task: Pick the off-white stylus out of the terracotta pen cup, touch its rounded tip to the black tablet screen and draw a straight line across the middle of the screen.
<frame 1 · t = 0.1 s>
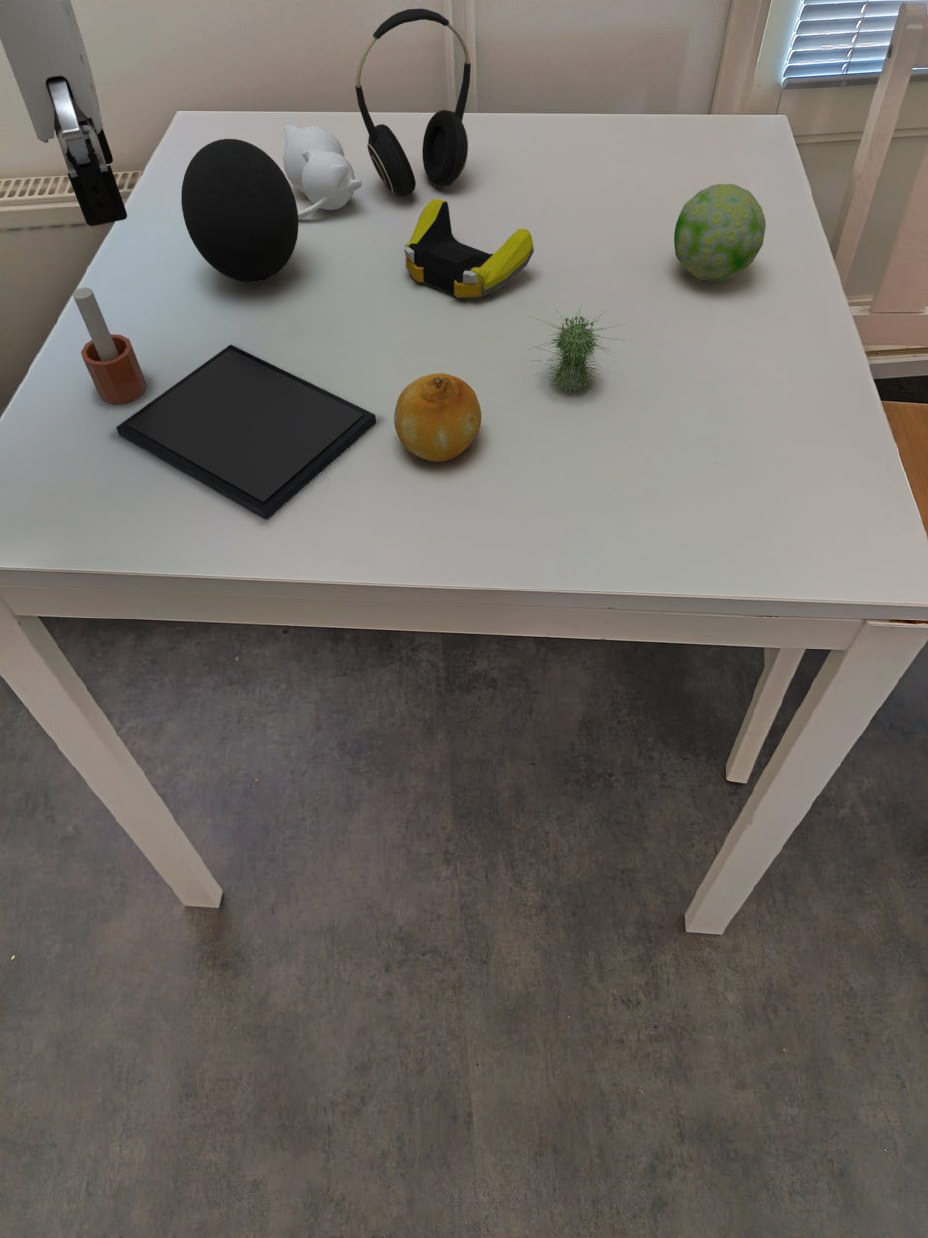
hand: (101, 191, 70), 21 cm above the table, tool pointing down, fingers open, 9 cm apart
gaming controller: (462, 274, 100), on the table
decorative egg: (256, 276, 100), on the table
decorative ball: (708, 275, 99), on the table
pen cup: (123, 389, 88), on the table
small spiny cactus: (571, 385, 88), on the table
cat figurine: (318, 202, 110), on the table
fruit: (438, 445, 83), on the table
tablet: (248, 428, 84), on the table
headphones: (420, 189, 111), on the table
stylus: (121, 385, 88), resting on pen cup
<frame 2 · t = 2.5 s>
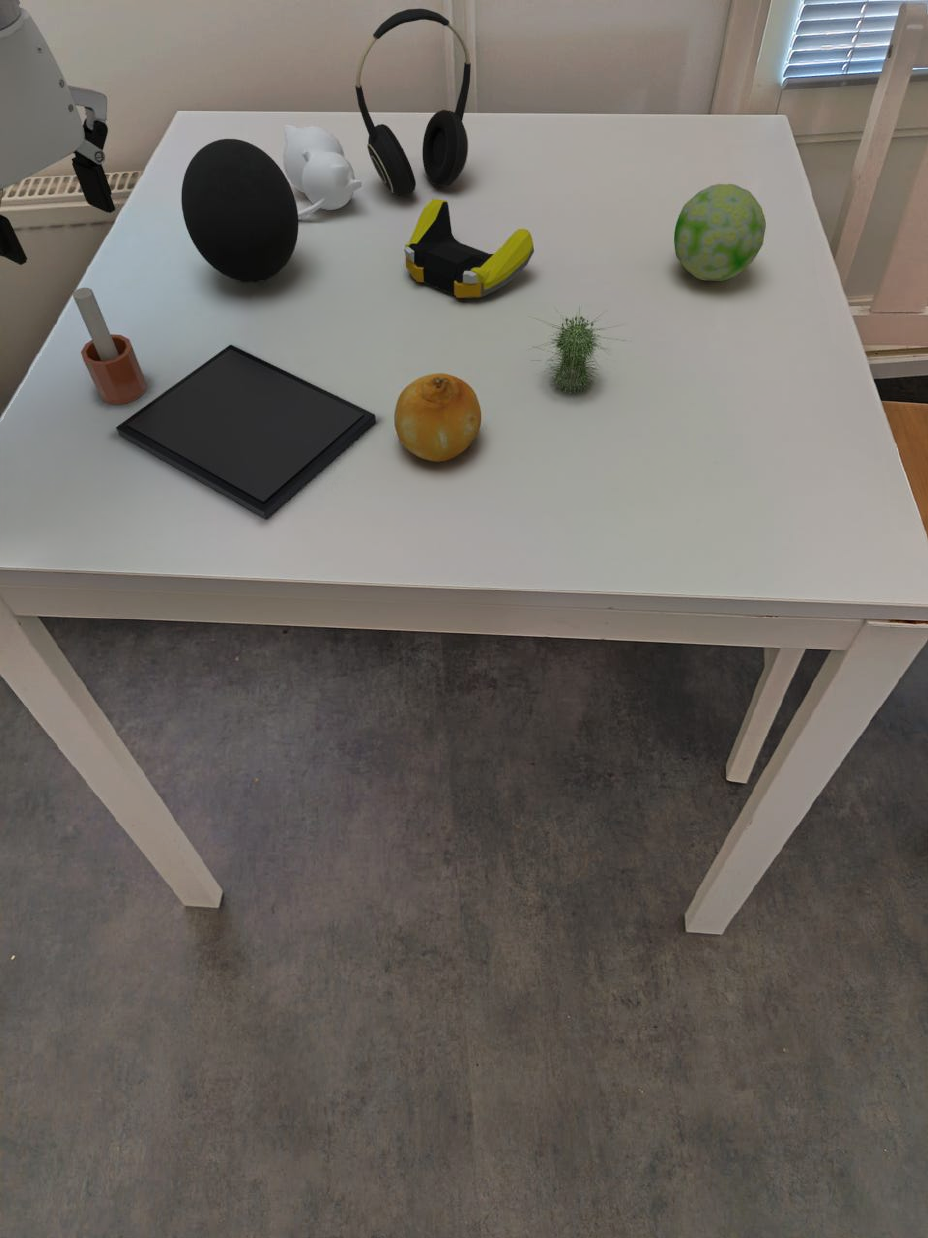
hand: (59, 232, 74), 17 cm above the table, tool pointing down, fingers open, 9 cm apart
nothing on the table moved.
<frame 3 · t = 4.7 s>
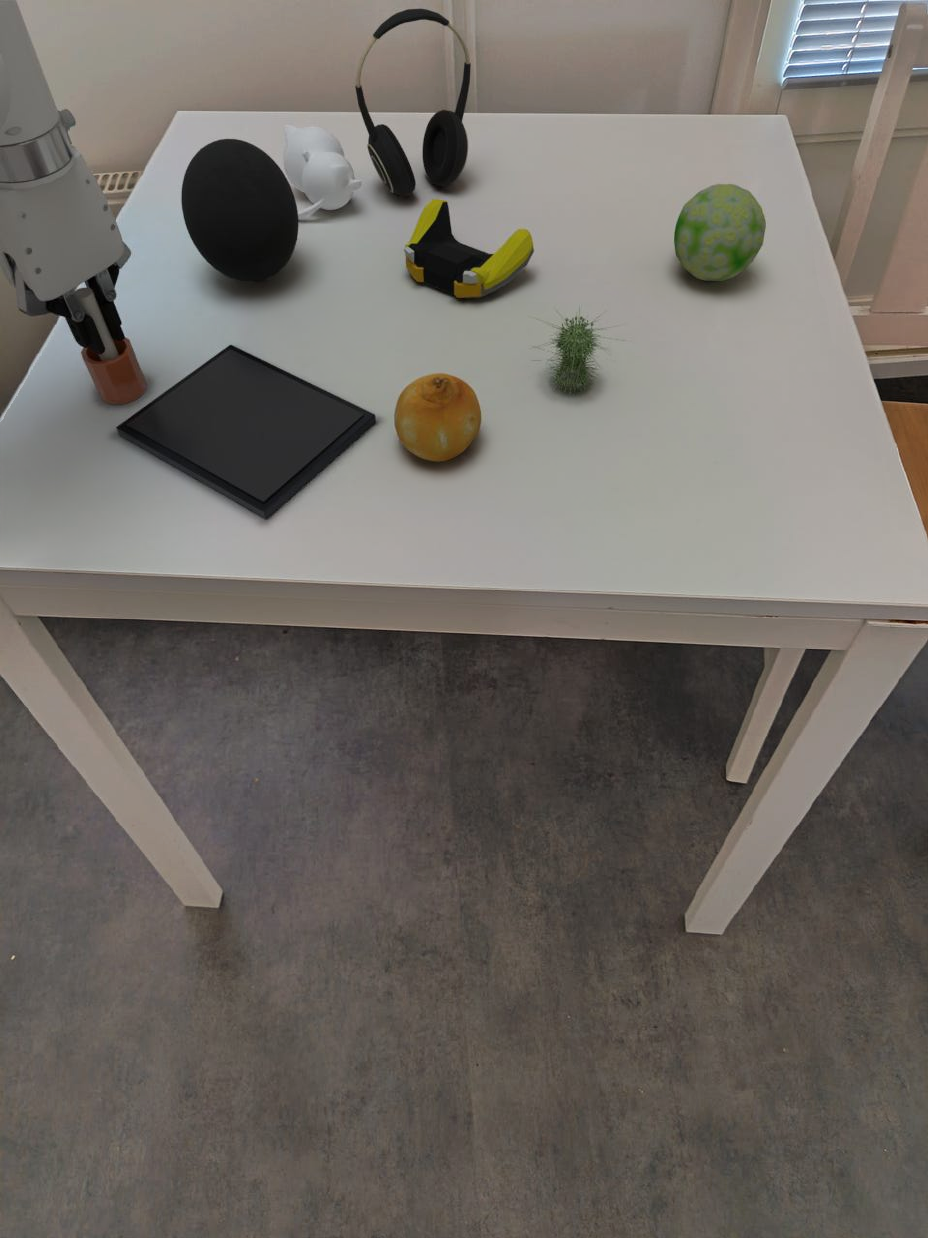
hand: (102, 340, 83), 6 cm above the table, tool pointing down, fingers closed on stylus, 1 cm apart
stylus: (121, 385, 88), resting on pen cup, touching gripper
everything else where it was.
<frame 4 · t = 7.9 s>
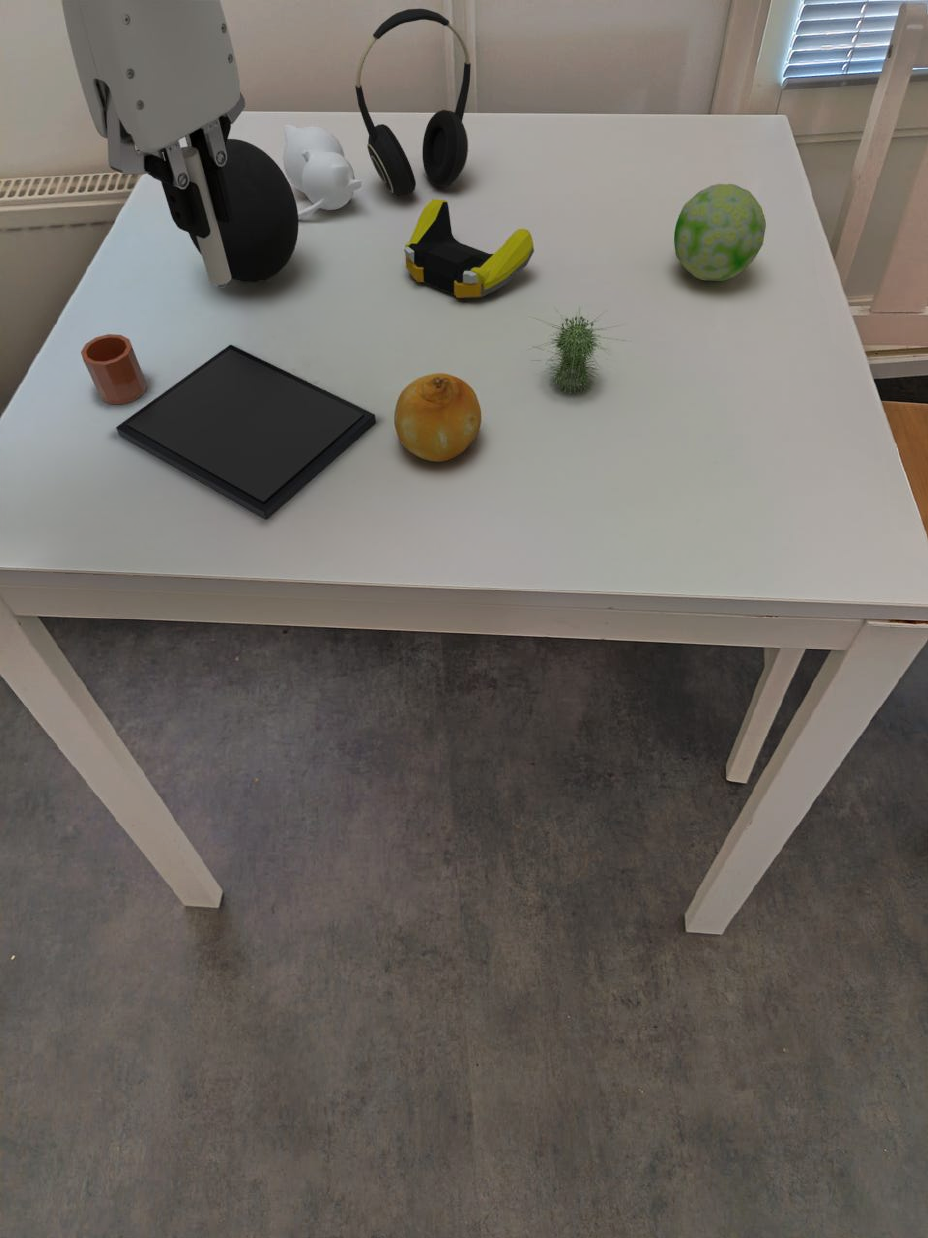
hand: (205, 222, 65), 22 cm above the table, tool pointing down, fingers closed on stylus
stylus: (222, 286, 69), point 17 cm above the table, touching gripper
everything else where it was.
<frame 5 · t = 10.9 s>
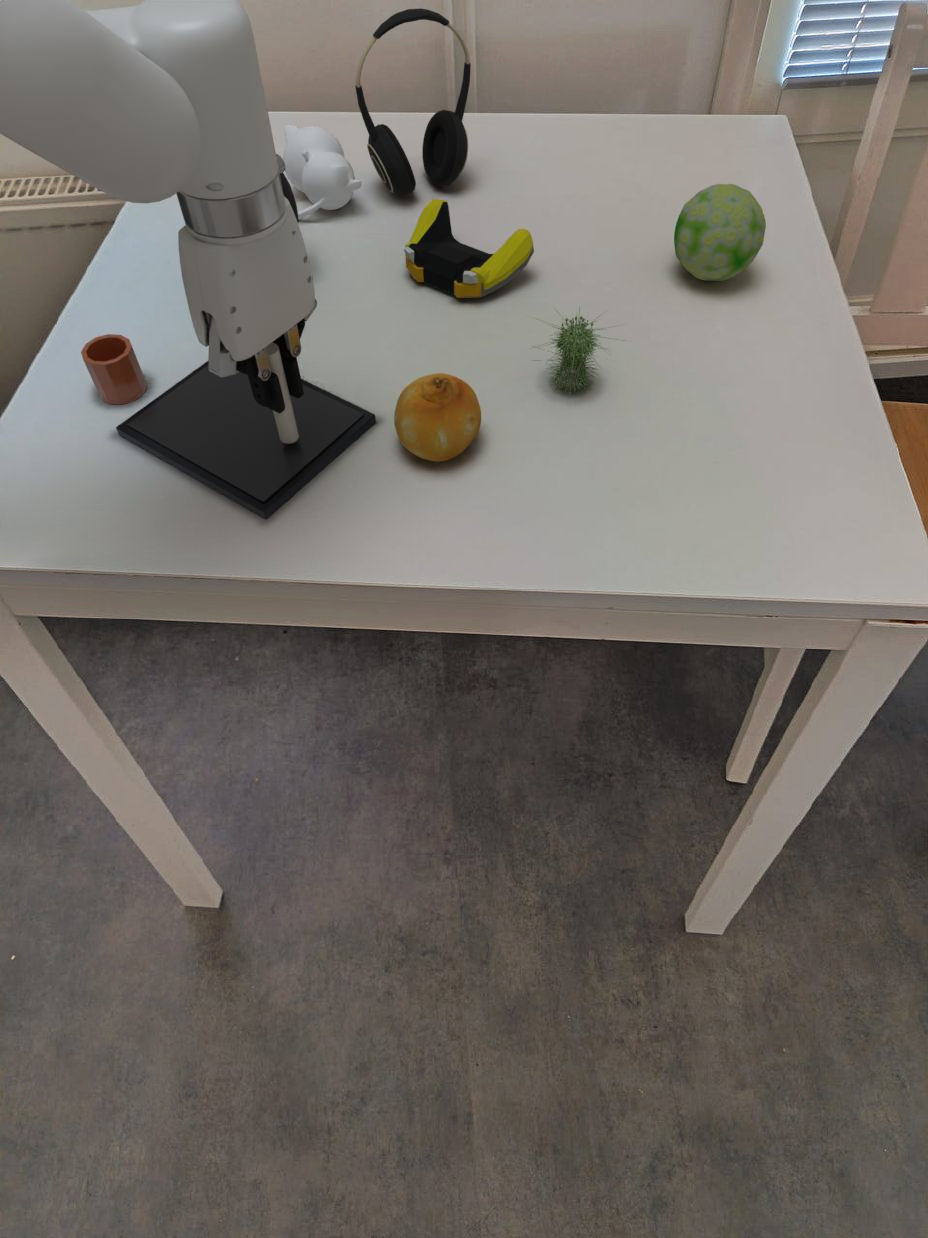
hand: (279, 397, 77), 7 cm above the table, tool pointing down, fingers closed on stylus, 1 cm apart
stylus: (290, 442, 81), point 1 cm above the table, touching gripper, tablet
everything else where it was.
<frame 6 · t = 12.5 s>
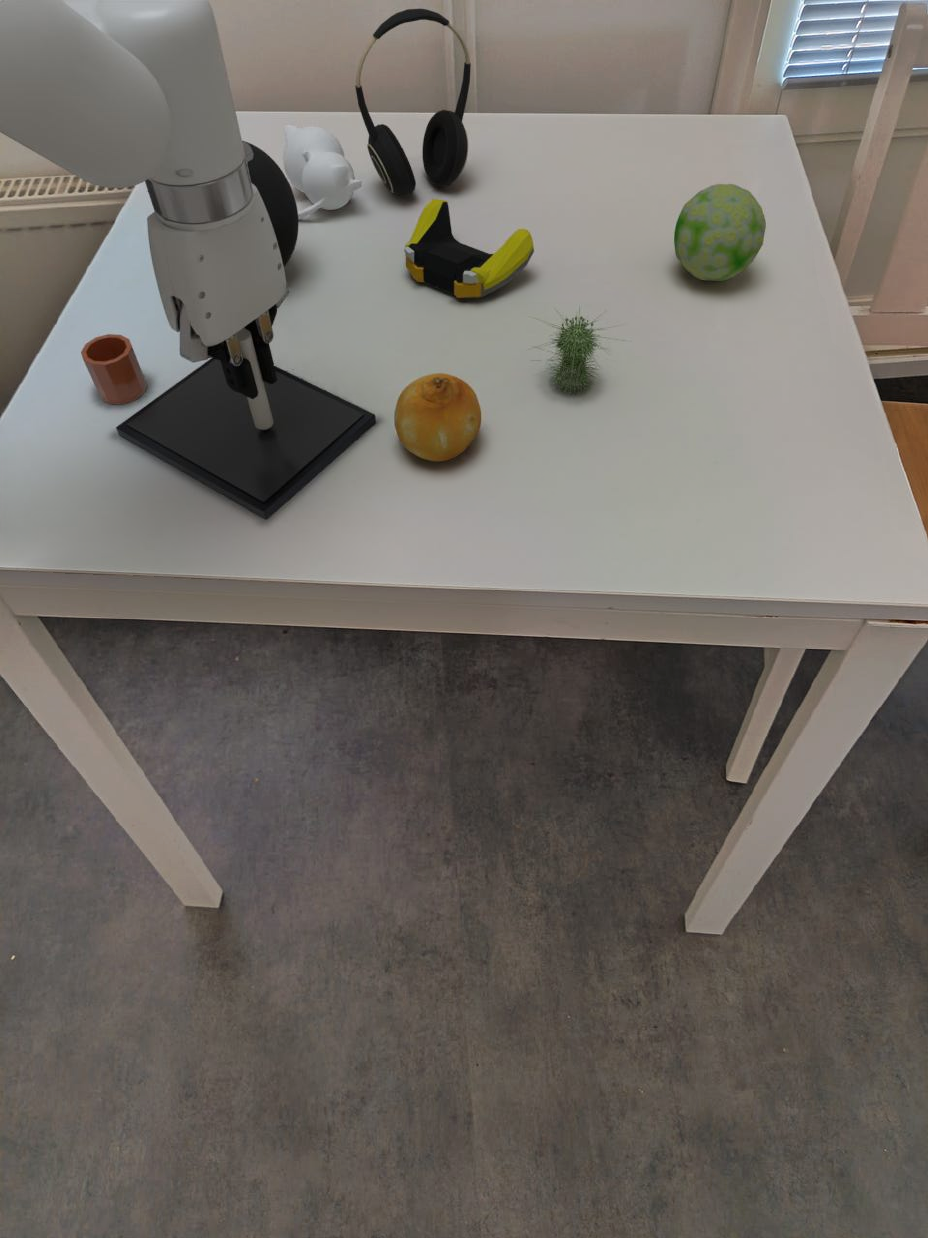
hand: (253, 383, 78), 7 cm above the table, tool pointing down, fingers closed on stylus, 1 cm apart
stylus: (265, 428, 82), point 1 cm above the table, touching gripper, tablet
everything else where it was.
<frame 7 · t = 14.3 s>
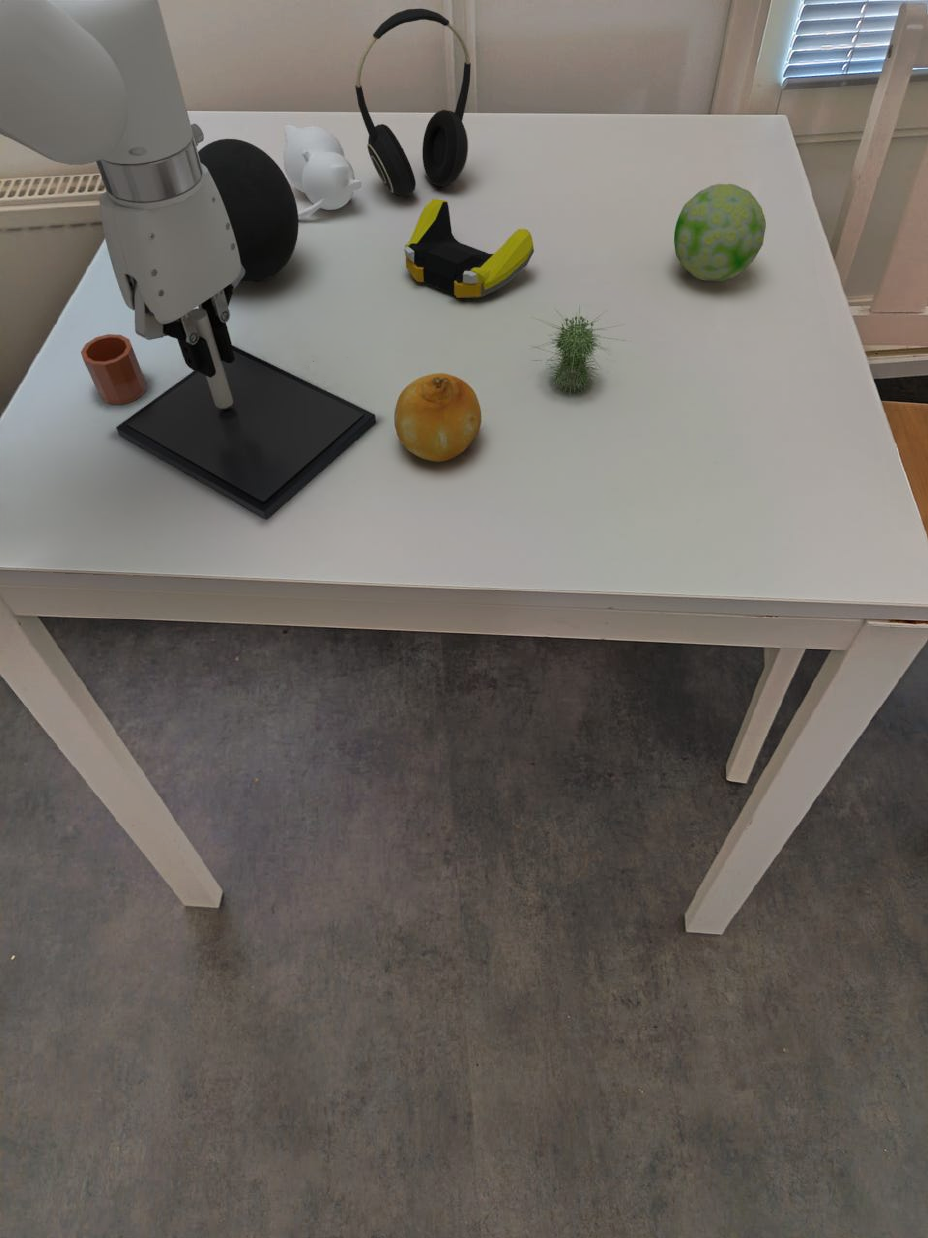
hand: (211, 362, 80), 7 cm above the table, tool pointing down, fingers closed on stylus, 1 cm apart
stylus: (225, 408, 84), point 1 cm above the table, touching gripper, tablet
everything else where it was.
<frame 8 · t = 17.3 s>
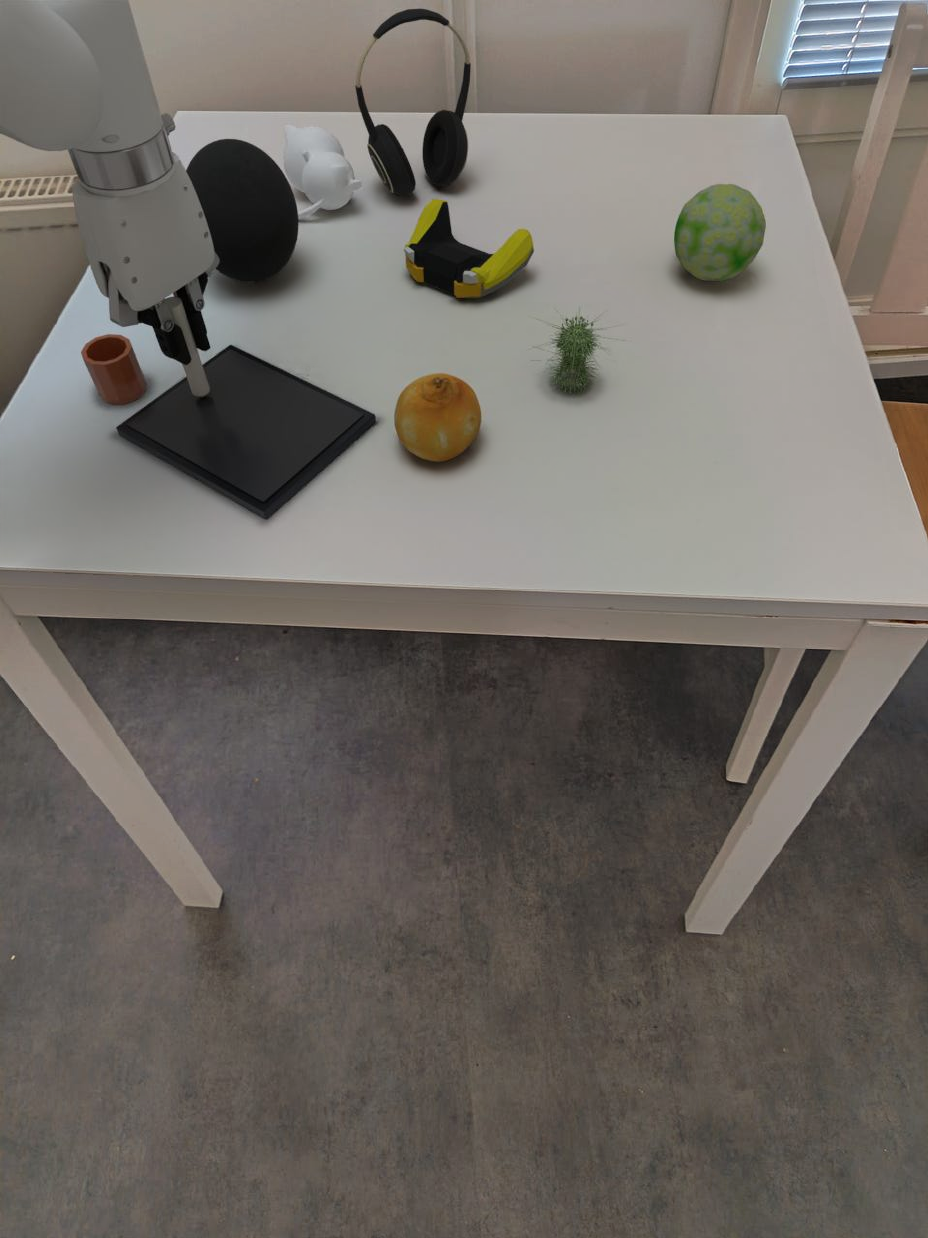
hand: (187, 350, 81), 7 cm above the table, tool pointing down, fingers closed on stylus, 1 cm apart
stylus: (202, 396, 85), point 1 cm above the table, touching gripper, tablet
everything else where it was.
at the end: the gripper is holding stylus; stylus touching gripper, tablet; stylus 0.8 cm from the target spot, point 1.2 cm above the table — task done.
